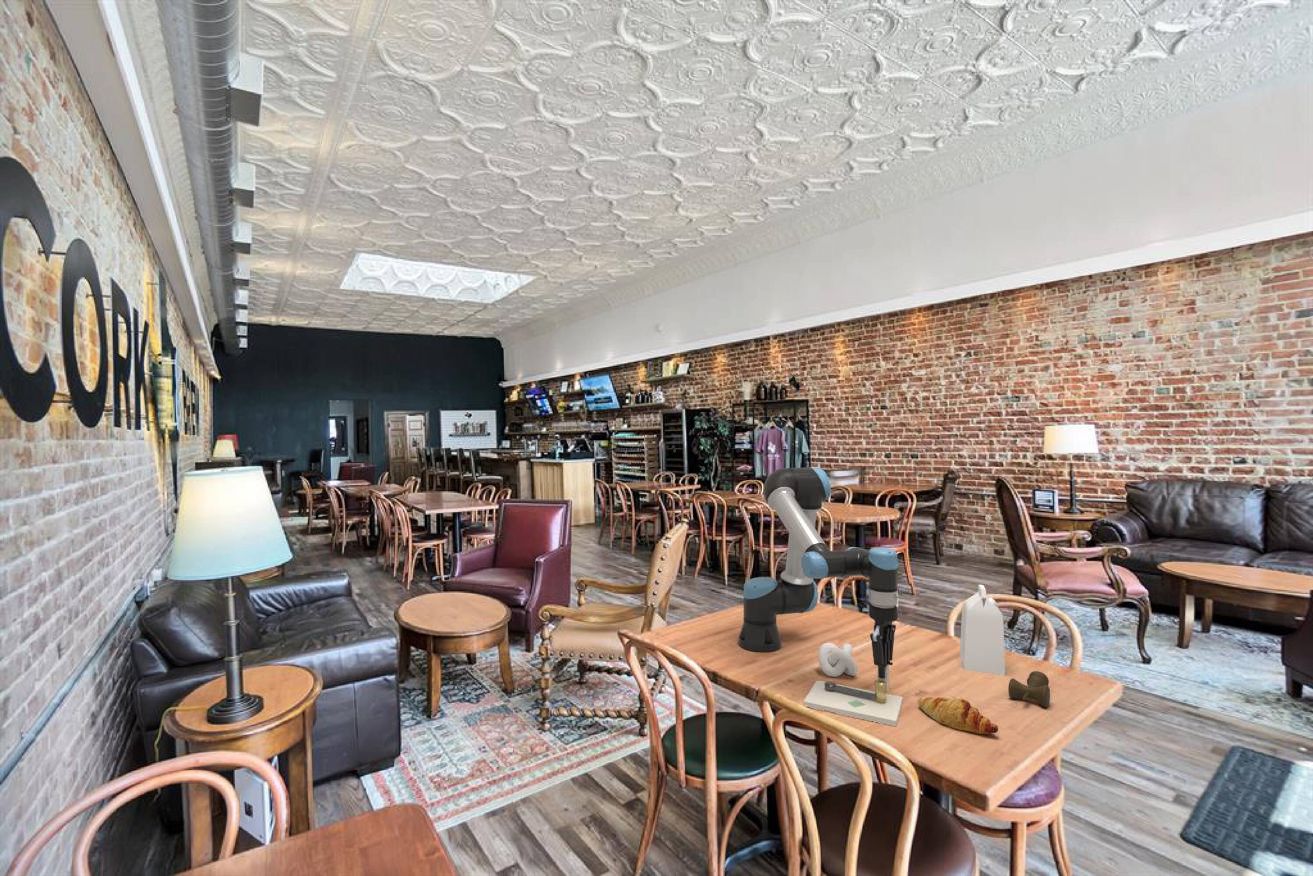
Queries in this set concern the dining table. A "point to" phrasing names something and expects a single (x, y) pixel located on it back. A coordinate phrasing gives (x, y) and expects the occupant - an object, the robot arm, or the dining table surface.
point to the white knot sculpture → (837, 660)
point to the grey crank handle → (878, 696)
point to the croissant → (957, 714)
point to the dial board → (854, 704)
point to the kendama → (1031, 688)
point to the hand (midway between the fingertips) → (883, 688)
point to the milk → (982, 635)
